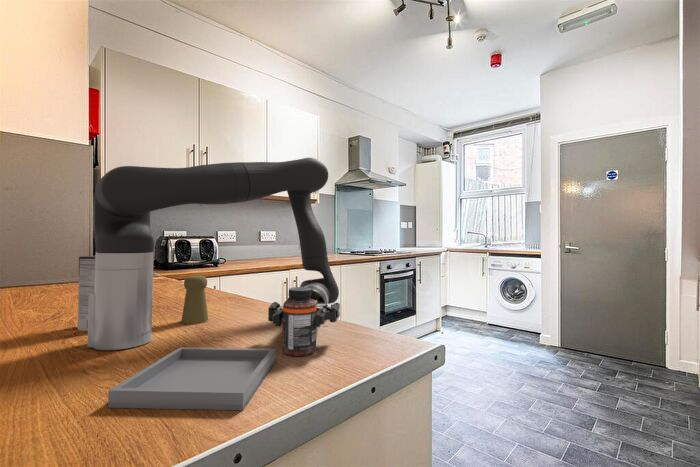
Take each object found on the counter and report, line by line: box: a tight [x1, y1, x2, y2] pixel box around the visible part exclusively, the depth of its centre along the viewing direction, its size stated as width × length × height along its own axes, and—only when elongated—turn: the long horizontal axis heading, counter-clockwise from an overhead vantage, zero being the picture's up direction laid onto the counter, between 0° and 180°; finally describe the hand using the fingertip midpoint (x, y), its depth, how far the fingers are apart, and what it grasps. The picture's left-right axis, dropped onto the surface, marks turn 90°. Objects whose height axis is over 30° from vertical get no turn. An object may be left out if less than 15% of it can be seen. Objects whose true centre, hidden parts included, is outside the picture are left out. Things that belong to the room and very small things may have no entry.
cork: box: [180, 274, 209, 325], centre depth 82 cm, size 6×6×11 cm
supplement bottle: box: [282, 286, 317, 357], centre depth 60 cm, size 6×6×11 cm
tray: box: [107, 346, 277, 411], centre depth 47 cm, size 16×16×2 cm
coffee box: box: [77, 255, 95, 332], centre depth 76 cm, size 9×6×16 cm
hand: (297, 320), depth 58 cm, fingers open, 6 cm apart
